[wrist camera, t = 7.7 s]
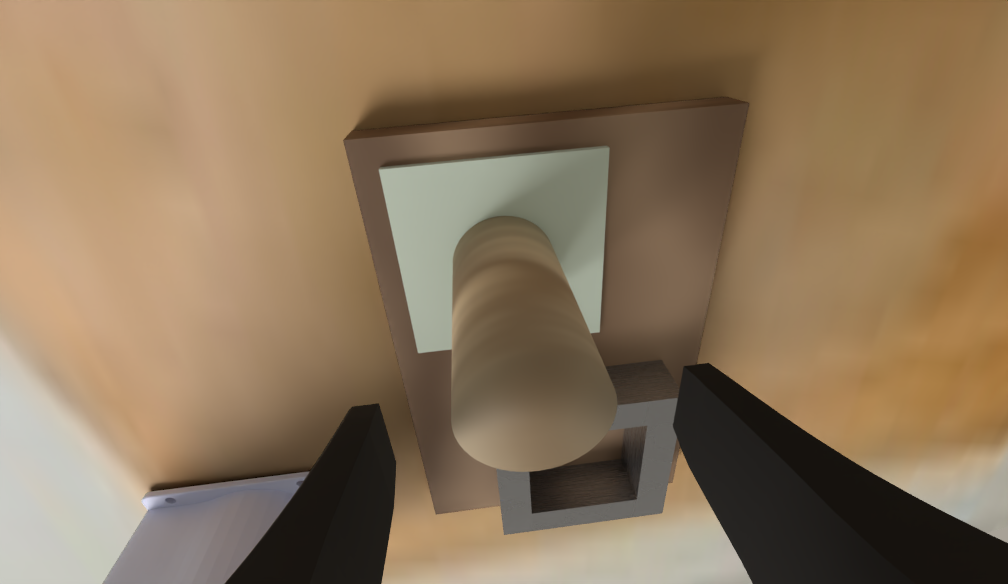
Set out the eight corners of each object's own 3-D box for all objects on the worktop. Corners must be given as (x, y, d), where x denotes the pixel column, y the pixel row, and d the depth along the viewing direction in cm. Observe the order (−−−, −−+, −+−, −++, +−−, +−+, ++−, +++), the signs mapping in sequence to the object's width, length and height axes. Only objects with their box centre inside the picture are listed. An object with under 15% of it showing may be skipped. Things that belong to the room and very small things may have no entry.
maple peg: (461, 313, 19) (465, 482, 12) (443, 223, 16) (436, 365, 10) (556, 299, 19) (615, 458, 12) (551, 208, 17) (619, 338, 10)
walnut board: (436, 491, 27) (435, 514, 26) (351, 130, 16) (343, 140, 15) (662, 461, 28) (672, 482, 27) (726, 96, 17) (749, 103, 16)
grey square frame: (499, 491, 25) (504, 534, 23) (486, 380, 21) (490, 421, 19) (644, 472, 26) (662, 513, 24) (661, 359, 21) (684, 397, 19)
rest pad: (418, 348, 20) (418, 353, 19) (379, 167, 16) (378, 169, 15) (597, 328, 20) (599, 332, 20) (606, 145, 16) (609, 147, 16)
